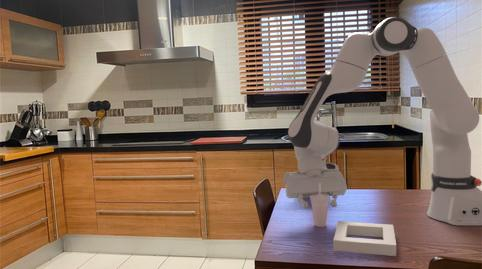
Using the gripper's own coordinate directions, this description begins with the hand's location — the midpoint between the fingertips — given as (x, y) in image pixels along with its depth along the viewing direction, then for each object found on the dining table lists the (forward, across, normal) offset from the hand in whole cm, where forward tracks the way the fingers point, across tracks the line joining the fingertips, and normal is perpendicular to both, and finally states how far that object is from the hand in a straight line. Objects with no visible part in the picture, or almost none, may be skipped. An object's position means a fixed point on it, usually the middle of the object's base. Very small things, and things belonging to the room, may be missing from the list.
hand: (320, 207), depth 128 cm
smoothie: (+4, 0, +5) cm, 6 cm away
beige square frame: (+16, +8, -7) cm, 19 cm away
